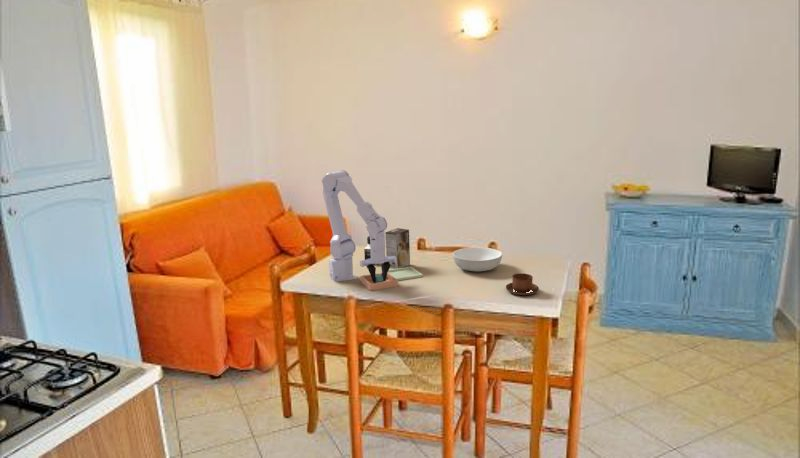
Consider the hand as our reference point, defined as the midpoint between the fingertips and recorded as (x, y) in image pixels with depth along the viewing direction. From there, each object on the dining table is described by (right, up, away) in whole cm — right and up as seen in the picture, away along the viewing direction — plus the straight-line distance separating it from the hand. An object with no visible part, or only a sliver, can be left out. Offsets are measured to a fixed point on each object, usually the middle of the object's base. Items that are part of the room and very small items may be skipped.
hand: (378, 281), depth 217 cm
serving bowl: (+41, +4, +18) cm, 45 cm away
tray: (+10, +1, +10) cm, 14 cm away
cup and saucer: (+54, -3, -11) cm, 55 cm away
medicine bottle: (-3, +6, +31) cm, 31 cm away
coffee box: (+8, +4, +23) cm, 25 cm away
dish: (0, -1, 0) cm, 1 cm away
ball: (0, -1, 0) cm, 1 cm away
